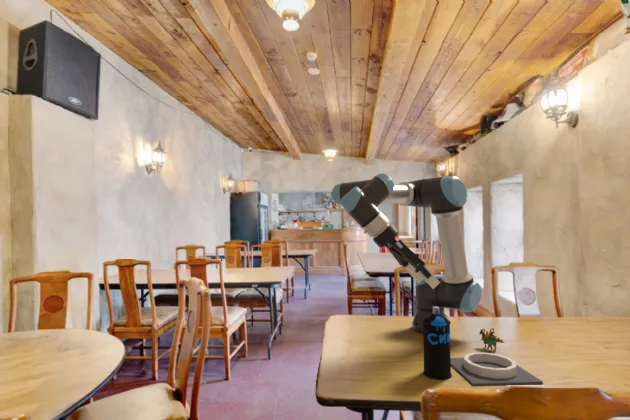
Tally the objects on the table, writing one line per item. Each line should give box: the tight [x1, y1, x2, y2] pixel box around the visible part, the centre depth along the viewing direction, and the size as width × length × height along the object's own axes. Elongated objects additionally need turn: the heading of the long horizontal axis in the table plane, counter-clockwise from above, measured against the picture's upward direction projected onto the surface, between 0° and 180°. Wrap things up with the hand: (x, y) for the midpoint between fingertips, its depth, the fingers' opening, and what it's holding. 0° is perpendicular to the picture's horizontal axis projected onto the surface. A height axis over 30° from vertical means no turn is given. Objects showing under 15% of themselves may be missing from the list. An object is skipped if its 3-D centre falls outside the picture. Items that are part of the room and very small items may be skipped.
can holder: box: [451, 352, 544, 387], centre depth 115 cm, size 20×20×3 cm
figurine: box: [478, 327, 505, 352], centre depth 133 cm, size 3×12×8 cm, turn 17°
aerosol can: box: [422, 307, 453, 381], centre depth 113 cm, size 8×8×20 cm
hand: (428, 283), depth 113 cm, fingers open, 13 cm apart
